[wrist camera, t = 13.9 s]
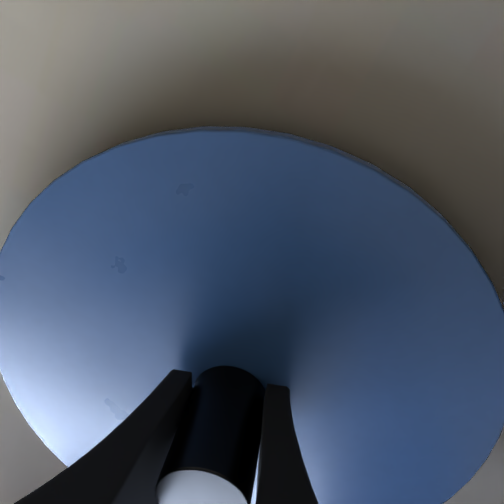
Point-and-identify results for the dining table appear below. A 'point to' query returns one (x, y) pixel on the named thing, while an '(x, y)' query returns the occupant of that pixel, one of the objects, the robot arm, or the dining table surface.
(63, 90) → the dining table surface
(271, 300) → the lid
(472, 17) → the dining table surface
